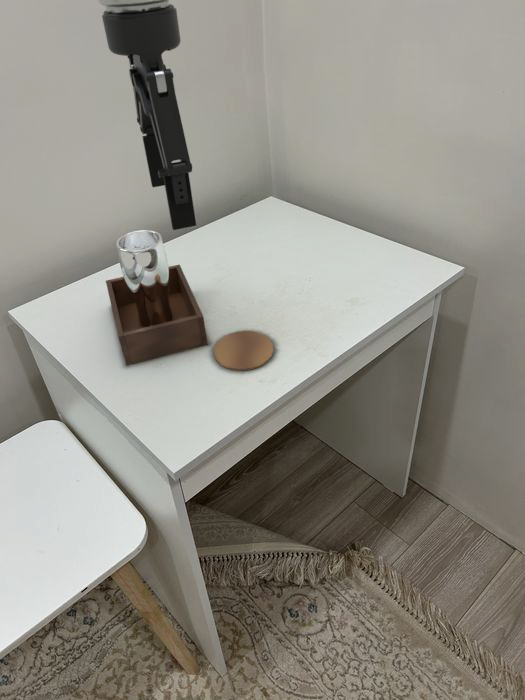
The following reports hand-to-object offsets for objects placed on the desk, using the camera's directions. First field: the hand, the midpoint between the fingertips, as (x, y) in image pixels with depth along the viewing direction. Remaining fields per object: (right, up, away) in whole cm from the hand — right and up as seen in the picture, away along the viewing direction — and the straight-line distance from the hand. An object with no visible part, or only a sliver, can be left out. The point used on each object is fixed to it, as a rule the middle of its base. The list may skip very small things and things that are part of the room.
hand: (172, 204), depth 68 cm
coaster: (+9, -18, +14) cm, 25 cm away
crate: (-6, -14, +21) cm, 26 cm away
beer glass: (-6, -14, +21) cm, 26 cm away
